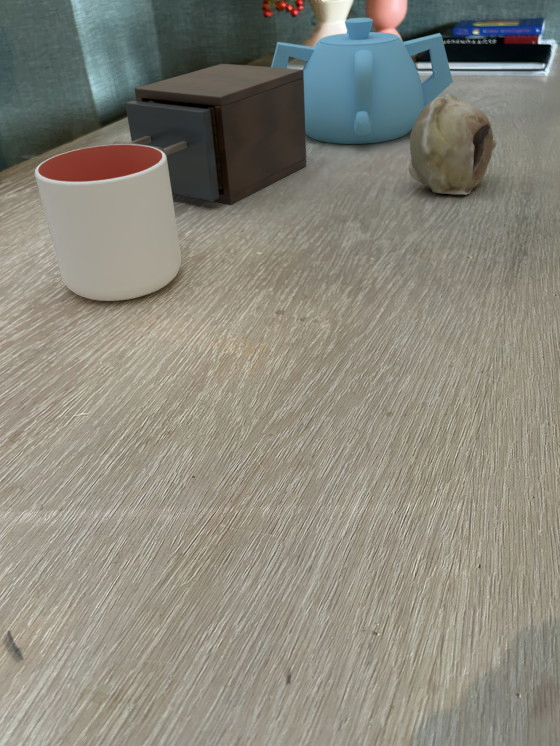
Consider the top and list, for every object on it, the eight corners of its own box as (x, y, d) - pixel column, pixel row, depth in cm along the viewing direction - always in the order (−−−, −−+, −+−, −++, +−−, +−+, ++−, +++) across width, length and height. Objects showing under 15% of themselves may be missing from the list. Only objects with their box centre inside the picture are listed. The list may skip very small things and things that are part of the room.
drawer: (180, 217, 66) (167, 124, 61) (105, 200, 71) (88, 113, 66) (286, 165, 78) (282, 84, 73) (216, 154, 84) (208, 77, 79)
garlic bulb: (421, 219, 71) (398, 134, 65) (412, 180, 77) (389, 100, 71) (512, 191, 69) (497, 100, 62) (495, 153, 75) (479, 66, 68)
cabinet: (230, 204, 71) (220, 97, 65) (150, 188, 77) (133, 88, 71) (306, 166, 81) (303, 69, 75) (230, 154, 87) (221, 63, 81)
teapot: (453, 126, 92) (462, 12, 84) (357, 159, 82) (358, 34, 74) (351, 107, 105) (351, 7, 97) (257, 134, 95) (249, 25, 87)
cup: (83, 257, 62) (57, 146, 56) (191, 253, 61) (175, 141, 55) (48, 309, 53) (14, 185, 48) (173, 305, 53) (153, 180, 47)
